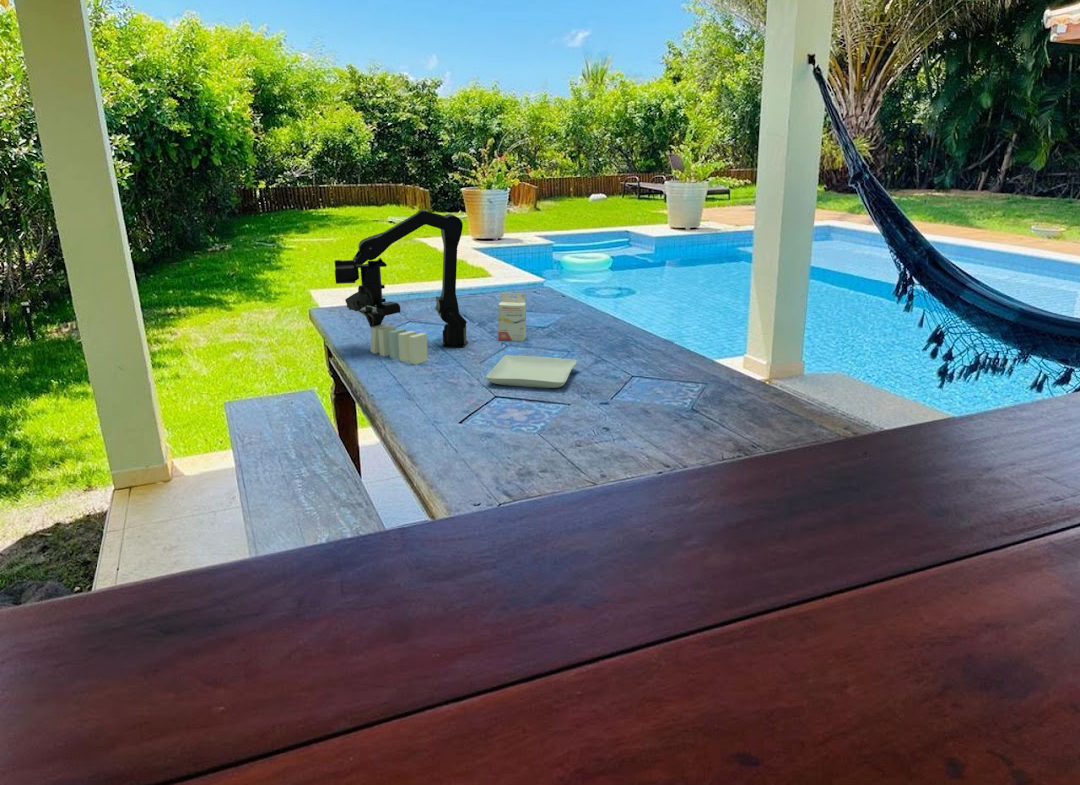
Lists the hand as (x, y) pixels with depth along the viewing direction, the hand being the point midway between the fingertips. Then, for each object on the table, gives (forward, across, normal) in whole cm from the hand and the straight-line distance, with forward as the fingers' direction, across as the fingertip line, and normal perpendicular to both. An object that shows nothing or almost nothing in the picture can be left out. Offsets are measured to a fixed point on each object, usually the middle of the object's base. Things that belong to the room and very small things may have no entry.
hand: (375, 333), depth 232 cm
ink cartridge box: (+6, +22, +37) cm, 44 cm away
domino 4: (+6, +15, 0) cm, 16 cm away
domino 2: (+6, +6, 0) cm, 8 cm away
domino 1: (+5, +1, 0) cm, 5 cm away
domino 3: (+6, +10, 0) cm, 12 cm away
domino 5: (+6, +19, 0) cm, 20 cm away
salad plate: (+6, +54, +10) cm, 56 cm away
